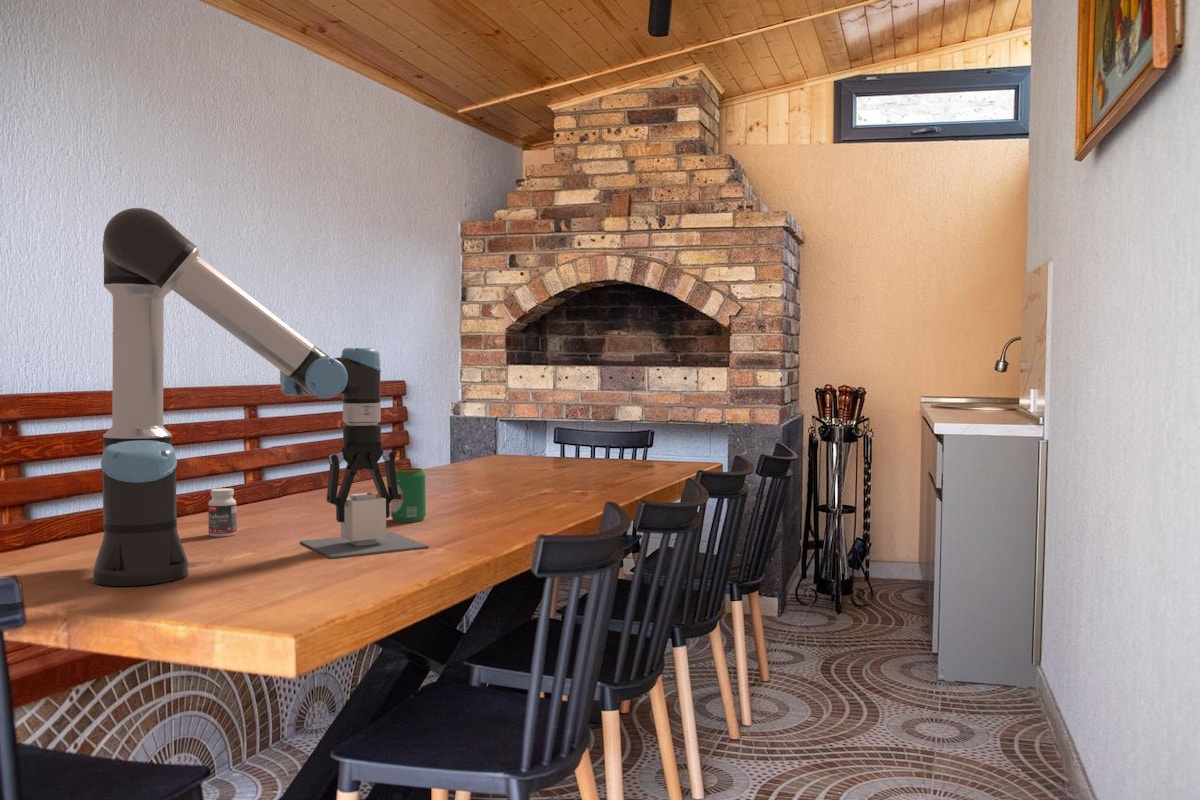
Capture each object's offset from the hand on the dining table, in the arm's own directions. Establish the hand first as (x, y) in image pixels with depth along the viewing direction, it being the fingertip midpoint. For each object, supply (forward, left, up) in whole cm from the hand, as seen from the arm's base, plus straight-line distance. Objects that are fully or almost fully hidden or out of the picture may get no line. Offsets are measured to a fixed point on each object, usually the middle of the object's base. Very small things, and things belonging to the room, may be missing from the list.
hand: (363, 535), depth 206 cm
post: (0, 0, -2) cm, 2 cm away
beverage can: (+20, +26, -2) cm, 33 cm away
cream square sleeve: (0, 0, 0) cm, 0 cm away
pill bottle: (-21, +29, -2) cm, 36 cm away
